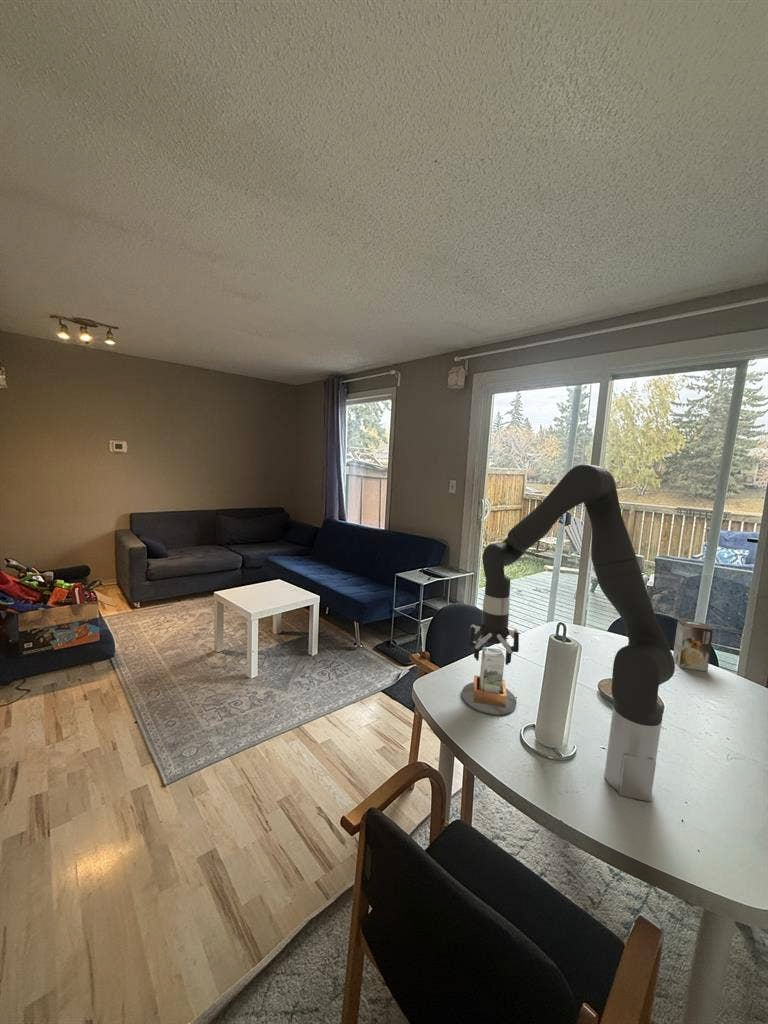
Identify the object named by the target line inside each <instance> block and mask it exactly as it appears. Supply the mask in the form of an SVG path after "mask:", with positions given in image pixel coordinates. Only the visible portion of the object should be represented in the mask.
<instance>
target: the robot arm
mask: <svg viewBox="0 0 768 1024" xmlns="http://www.w3.org/2000/svg"><path fill="white" fill-rule="evenodd" d="M582 503H583V504H584V506H585V509H586V512H587V515H588V518H589V522H590V525H591V542H590V543H591V544H590V546H591V547H590V550H591V551H590V555H591V556H590V557H591V563H592V567H593V570H594V573H595V576H596V581H597V583H598V585H599V588H600V590H601V591H602V593H603V595H604V596H605V597H606V598H607V600H608V601H609V603H611V605H612V607H614V609H615V610H616V612H617V613H618V614H619V617H620V618H621V620H622V623H623V626H624V628H625V631H626V634H627V639H628V642H629V645H628V644H627V645H625V646H623V647H621V648H619V649H618V650H617V652H616V653H615V655H614V659H613V665H612V677H611V688H610V689H611V695H612V699H613V704H612V705H613V706H612V713H611V721H610V726H609V727H610V728H609V729H610V730H609V737H608V743H607V751H606V761H605V766H604V767H605V768H604V778H605V780H606V782H607V783H608V784H609V785H610V786H611V788H613V789H614V790H615V791H617V793H618V795H619V796H620V797H625V798H631V799H635V800H640V801H646V802H652V801H651V800H652V793H653V785H654V779H655V772H656V767H657V766H656V765H657V755H658V751H659V741H660V736H661V735H660V734H661V730H662V729H661V728H662V722H663V714H664V711H663V708H662V705H661V704H660V703H659V702H658V695H659V688H660V685H662V684H664V683H666V682H668V681H669V680H671V678H672V677H673V676H674V674H675V671H676V670H675V669H676V663H675V662H674V658H673V654H672V651H671V648H670V646H669V644H668V642H667V640H666V638H665V635H664V633H663V631H662V629H661V626H660V624H659V622H658V618H657V616H656V614H655V612H654V608H653V605H652V602H651V598H650V595H649V592H648V589H647V586H646V583H645V580H644V576H643V572H642V570H641V566H640V563H639V560H638V557H637V554H636V552H635V548H634V547H633V544H632V540H631V538H630V534H629V531H628V529H627V526H626V524H625V521H624V517H623V515H622V511H621V506H620V500H619V495H618V491H617V485H616V482H615V479H614V476H613V474H612V473H611V472H610V471H609V470H608V469H607V468H605V467H604V466H603V467H602V466H600V465H594V464H588V463H585V464H584V463H583V464H577V465H576V466H573V467H572V468H571V469H570V470H569V471H567V473H566V474H565V475H564V476H563V478H561V479H560V481H559V482H558V483H557V484H556V486H554V488H553V489H552V490H551V491H550V492H549V494H548V495H547V496H546V497H544V499H543V500H542V501H541V502H540V503H539V504H538V505H537V507H535V508H534V509H533V510H532V511H531V512H529V513H528V514H527V515H526V516H525V517H524V518H523V519H522V520H520V521H519V522H518V523H517V524H515V525H514V526H513V527H512V528H511V529H510V530H509V531H508V532H507V537H506V538H505V539H504V540H502V541H500V542H496V543H489V544H488V545H487V546H486V547H485V548H484V550H483V553H482V565H483V567H482V568H483V572H484V577H485V588H484V597H483V602H482V612H481V614H482V615H481V616H482V617H481V624H480V626H478V625H475V624H474V623H472V624H471V625H470V629H469V637H468V638H469V639H468V646H470V647H473V648H474V649H473V650H474V651H473V657H474V659H475V661H477V662H478V661H479V660H480V647H481V646H483V645H484V644H485V643H486V642H487V643H488V644H496V645H500V644H502V646H503V647H504V649H505V657H504V658H505V660H504V665H506V666H507V665H508V666H509V664H511V662H512V654H513V653H519V652H520V651H519V649H520V648H519V646H520V638H519V637H520V633H519V630H518V629H514V630H511V629H510V630H509V619H510V603H511V600H510V594H511V593H510V592H511V578H510V577H509V575H508V574H505V567H507V566H512V565H513V564H514V563H515V562H517V561H518V560H519V559H520V558H521V557H522V556H523V555H524V553H526V551H528V549H529V548H531V547H533V546H534V545H535V544H536V543H538V542H539V541H541V540H542V539H543V538H544V537H545V536H546V535H547V534H548V533H549V532H550V531H551V529H552V528H553V527H554V526H555V524H556V522H557V521H558V520H559V519H560V518H561V517H562V516H564V515H565V514H566V513H567V512H569V511H570V510H572V509H574V508H576V507H577V506H579V505H581V504H582ZM478 632H480V633H481V635H480V636H479V638H478V639H477V640H474V639H475V635H476V634H477V633H478ZM509 635H510V636H511V639H513V645H510V644H509V641H508V640H507V638H508V637H509Z"/></svg>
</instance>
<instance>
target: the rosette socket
mask: <svg viewBox="0 0 768 1024" xmlns="http://www.w3.org/2000/svg"><path fill="white" fill-rule="evenodd" d="M505 682H506V681H505V679H502V690H501V694H499V693H493V692H486V691H480V690H479V683H480V675H477V674H476V675H473V682H470V683H468V684H465V685H464V687H463V688H462V691H461V698H462V700H463V701H464V703H465V704H466V705H467V706H468V707H469V708H471V709H473V710H474V711H476V712H478V713H480V714H484V715H488V716H497V717H499V716H506V715H507V716H508V715H509V714H511V713H513V712H514V711H515V710H516V708H517V698H516V697H515V695H514V694H513V693H512V692H511V691H510V690H509V689H507V688H506V683H505Z"/></svg>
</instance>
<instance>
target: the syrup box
mask: <svg viewBox="0 0 768 1024" xmlns="http://www.w3.org/2000/svg"><path fill="white" fill-rule="evenodd" d="M481 649H482V652H481V653H482V654H481V663H480V675H479V676H480V683H479V690H480V691H486V692H493V693H499V694H501V690H502V680H504V679H503V676H504V669H505V658H506V657H505V656H504V652H503V650H502V648H499V647H489V646H482V648H481Z"/></svg>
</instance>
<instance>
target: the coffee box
mask: <svg viewBox="0 0 768 1024" xmlns="http://www.w3.org/2000/svg"><path fill="white" fill-rule="evenodd" d="M713 632H714V629H713V628H711V627H710V626H709V625H707V624H706V623H703V622H702V623H701V622H694V621H688V620H681V619H678V620H677V623H676V631H675V637H674V647H673V654H672V655H673V658H674V662H675V665H676V666H677V667H678V668H682V669H689V670H695V671H696V670H697V671H702V672H708V669H709V663H710V654H711V647H712V639H713Z"/></svg>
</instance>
